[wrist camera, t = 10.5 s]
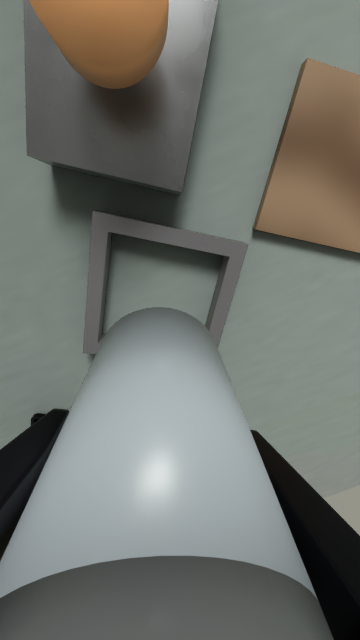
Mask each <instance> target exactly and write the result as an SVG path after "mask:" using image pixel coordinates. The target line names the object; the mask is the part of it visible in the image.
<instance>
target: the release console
mask: <svg viewBox="0 0 360 640" xmlns="http://www.w3.org/2000/svg"><path fill="white" fill-rule="evenodd" d="M217 5H218V0H169V16H168V30H167V36H166V41H165V44H164V47H163V50H162V53H161V55H160V57H159V59H158V61H157V63H156V65H155V66H154V68H153V69H152V70H151V71H150V73H149V74H148V75H147V76H146V77H145V78H143V79H142V80H141V81H139V82H138V83H136V84H134V85H132V86H129V87H126V88H120V89H109V88H104V87H101V86H98V85H95V84H93V83H91V82H90V81H88V80H86V79H85V78H84V77H82V76H81V75H80V74H79V73H77V72H76V71H75V70H74V69H73V68H72V67H71V65H70V64H69V63H68V62H67V61H66V59H65V58H64V56H63V55H62V53H61V52H60V50H59V49H58V47H57V46H56V44H55V42H54V41H53V39H52V38H51V36H50V35H49V33H48V32H47V30H46V28H45V27H44V25H43V24H42V22H41V21H40V19H39V17H38V16H37V14H36V12H35V11H34V9H33V7H32V5H31V3H30V1H29V0H24V42H25V89H26V136H27V156H30V157H32V158H34V159H37V160H39V161H42V162H44V163H47V164H49V165H52V166H56V167H61V168H65V169H69V170H73V171H78V172H82V173H86V174H90V175H95V176H99V177H103V178H108V179H112V180H116V181H120V182H125V183H129V184H133V185H137V186H142V187H146V188H150V189H154V190H159V191H163V192H167V193H171V194H176V195H180V194H181V193H182V190H183V185H184V180H185V174H186V169H187V164H188V158H189V153H190V148H191V143H192V137H193V132H194V127H195V121H196V116H197V111H198V105H199V100H200V95H201V89H202V84H203V79H204V74H205V68H206V63H207V58H208V52H209V47H210V42H211V36H212V31H213V26H214V20H215V15H216V10H217Z"/></svg>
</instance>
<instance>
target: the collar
mask: <svg viewBox="0 0 360 640" xmlns="http://www.w3.org/2000/svg"><path fill="white" fill-rule="evenodd" d="M112 233H117V234H122V235H127V236H132V237H137V238H141V239H146V240H151V241H156V242H161V243H166V244H170V245H175V246H180V247H185V248H190V249H195V250H199V251H204V252H209V253H214V254H219V255H224V258H223V261H222V265H221V269H220V273H219V276H218V280H217V284H216V287H215V291H214V295H213V299H212V302H211V306H210V310H209V314H208V317H207V321H206V325H205V327H206V328H207V329H208V330H209V332H210V333H211V335H212V337H213V338H214V341H215V343H216V346H217V348H218V344H219V341H220V338H221V334H222V331H223V328H224V324H225V321H226V318H227V314H228V311H229V308H230V304H231V301H232V298H233V294H234V291H235V288H236V284H237V281H238V278H239V274H240V271H241V268H242V264H243V261H244V258H245V254H246V251H247V248H248V244H246V243H243V242H240V241H235V240H230V239H226V238H221V237H217V236H212V235H207V234H203V233H198V232H193V231H189V230H184V229H180V228H175V227H170V226H166V225H161V224H156V223H152V222H147V221H143V220H138V219H133V218H129V217H124V216H120V215H115V214H110V213H106V212H101V211H93V213H92V228H91V242H90V257H89V271H88V286H87V300H86V315H85V330H84V344H83V353H88V354H96V353H97V351H98V349H99V347H100V344H101V342H102V340H103V338H104V336H105V335H104V334H102V329H103V319H104V309H105V298H106V288H107V278H108V268H109V258H110V248H111V237H112Z"/></svg>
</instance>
